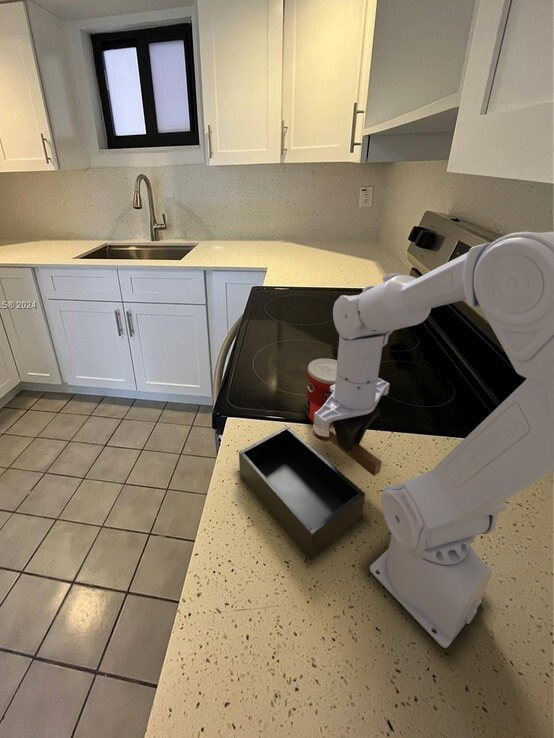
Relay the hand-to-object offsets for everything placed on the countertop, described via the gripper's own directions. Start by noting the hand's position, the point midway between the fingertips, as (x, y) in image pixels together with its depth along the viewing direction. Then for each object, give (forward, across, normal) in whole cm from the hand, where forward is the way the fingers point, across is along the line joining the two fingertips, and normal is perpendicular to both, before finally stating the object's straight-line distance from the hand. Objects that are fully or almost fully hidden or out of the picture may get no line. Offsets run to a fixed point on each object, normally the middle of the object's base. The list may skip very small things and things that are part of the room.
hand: (348, 444), depth 56 cm
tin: (+5, +10, -1) cm, 11 cm away
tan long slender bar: (+1, 0, -1) cm, 2 cm away
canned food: (+6, -7, -11) cm, 14 cm away
